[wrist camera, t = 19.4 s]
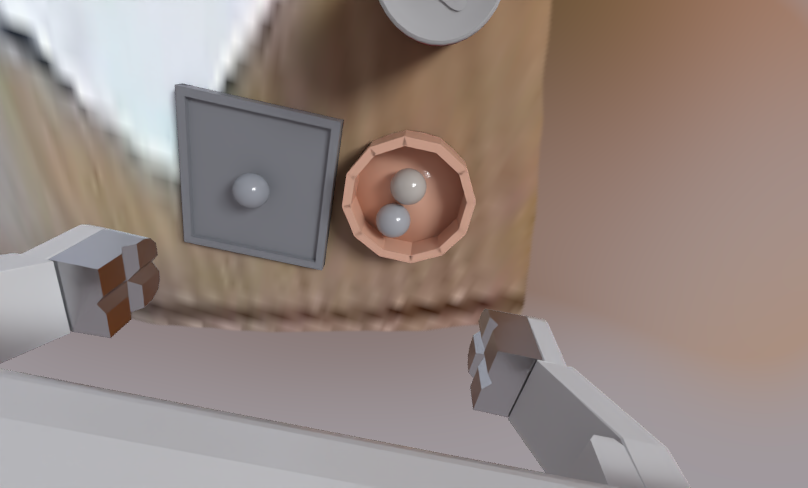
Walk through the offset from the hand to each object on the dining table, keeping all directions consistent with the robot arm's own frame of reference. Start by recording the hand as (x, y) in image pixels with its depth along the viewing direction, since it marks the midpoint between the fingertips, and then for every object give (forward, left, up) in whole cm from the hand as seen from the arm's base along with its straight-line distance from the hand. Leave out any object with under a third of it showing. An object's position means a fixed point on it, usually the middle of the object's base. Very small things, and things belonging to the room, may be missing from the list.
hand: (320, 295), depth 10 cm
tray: (-13, -10, -29) cm, 33 cm away
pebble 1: (-13, -10, -27) cm, 31 cm away
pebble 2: (+2, -6, -27) cm, 27 cm away
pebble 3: (+1, -9, -27) cm, 28 cm away
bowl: (+2, -7, -29) cm, 30 cm away
